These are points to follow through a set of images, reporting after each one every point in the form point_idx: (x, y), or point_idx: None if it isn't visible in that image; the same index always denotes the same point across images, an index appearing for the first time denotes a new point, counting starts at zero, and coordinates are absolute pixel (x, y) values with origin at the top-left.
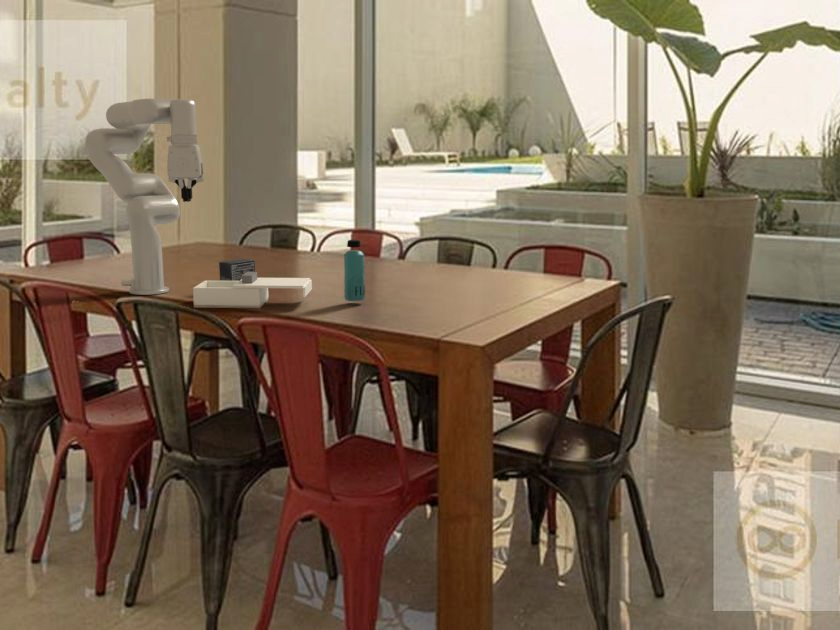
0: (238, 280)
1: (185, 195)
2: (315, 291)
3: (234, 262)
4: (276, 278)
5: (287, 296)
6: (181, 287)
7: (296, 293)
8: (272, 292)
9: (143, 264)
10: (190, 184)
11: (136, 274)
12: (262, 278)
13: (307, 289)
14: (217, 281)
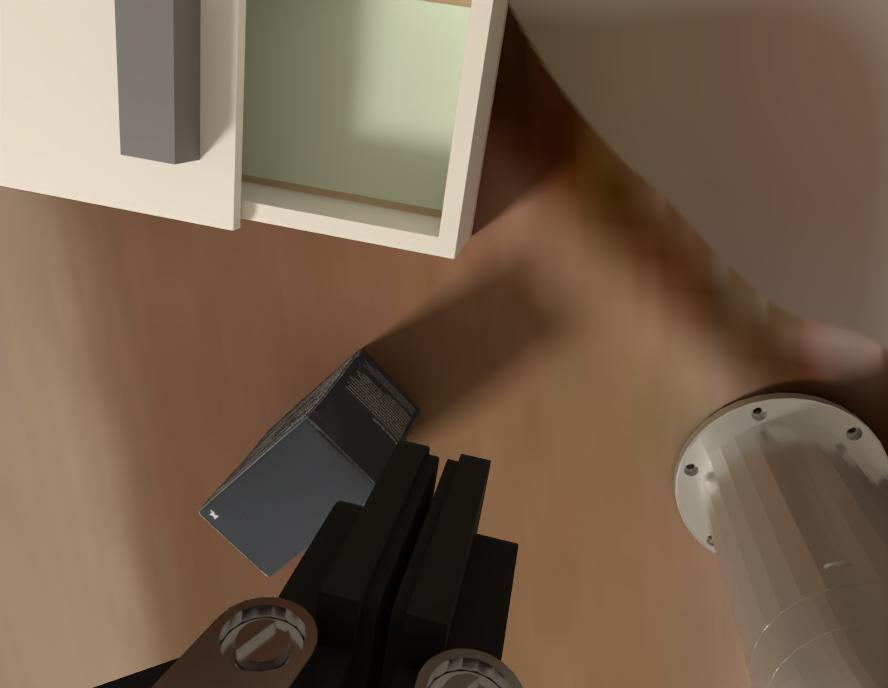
0: (310, 399)
1: (424, 530)
2: (26, 364)
3: (286, 438)
4: (57, 170)
5: (111, 260)
6: (615, 570)
7: (89, 329)
8: (192, 371)
9: (855, 505)
10: (190, 670)
11: (881, 493)
12: (128, 180)
13: None
14: (381, 226)
